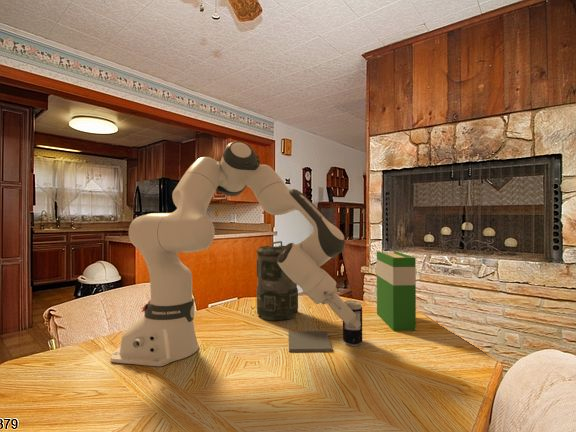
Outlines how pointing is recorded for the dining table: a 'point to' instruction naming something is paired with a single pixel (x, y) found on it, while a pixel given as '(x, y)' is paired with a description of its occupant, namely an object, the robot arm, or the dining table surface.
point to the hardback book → (396, 290)
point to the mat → (308, 341)
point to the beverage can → (350, 332)
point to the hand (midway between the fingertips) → (354, 320)
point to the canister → (274, 286)
